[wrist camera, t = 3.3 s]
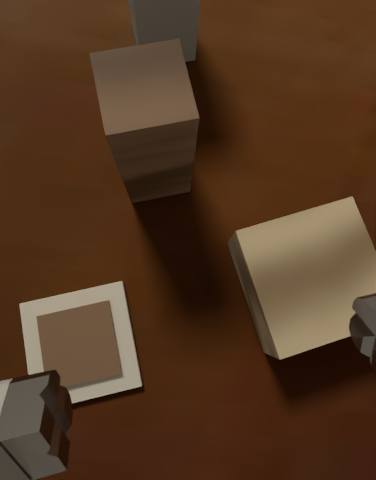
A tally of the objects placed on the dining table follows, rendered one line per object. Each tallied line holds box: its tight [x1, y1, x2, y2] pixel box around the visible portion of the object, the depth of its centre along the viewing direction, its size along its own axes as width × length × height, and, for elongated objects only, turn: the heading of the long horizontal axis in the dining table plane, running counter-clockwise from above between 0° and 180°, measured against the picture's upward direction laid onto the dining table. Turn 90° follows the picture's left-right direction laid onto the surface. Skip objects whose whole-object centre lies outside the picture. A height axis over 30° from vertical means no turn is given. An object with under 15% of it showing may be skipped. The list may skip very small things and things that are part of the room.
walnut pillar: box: [90, 38, 199, 203], centre depth 21 cm, size 4×4×10 cm
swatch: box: [20, 281, 143, 403], centre depth 23 cm, size 7×7×1 cm
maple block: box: [227, 196, 376, 360], centre depth 23 cm, size 8×8×4 cm
